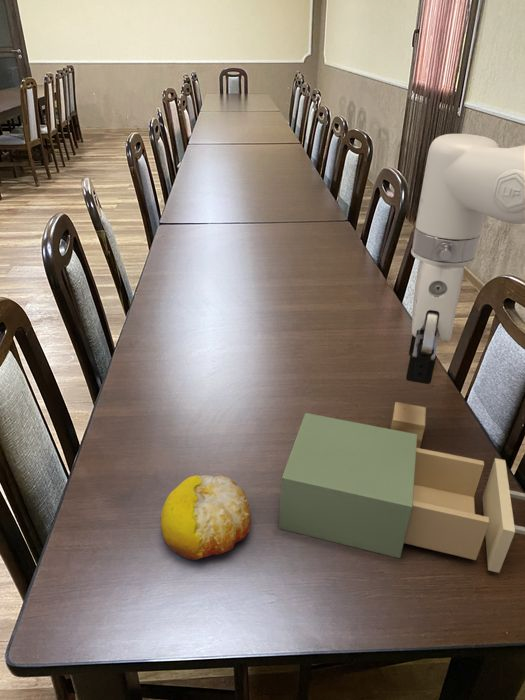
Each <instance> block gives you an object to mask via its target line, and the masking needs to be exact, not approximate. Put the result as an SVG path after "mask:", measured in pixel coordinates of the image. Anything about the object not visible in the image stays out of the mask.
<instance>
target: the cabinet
mask: <svg viewBox="0 0 525 700" xmlns="http://www.w3.org/2000/svg"><path fill="white" fill-rule="evenodd" d="M416 446H417V434H413V433H407V432H402V431H397V430H392V429H391V428H386V427H381V426H377V425H370V424H366V423H360V422H356V421H351V420H345V419H340V418H334V417H330V416H324V415H318V414H314V413H308V412H304V414H303V418H302V421H301V424H300V426H299V429H298V432H297V434H296V437H295V439H294V443H293V445H292V449H291V451H290V454H289V456H288V459H287V462H286V465H285V468H284V471H283V473H282V476H281V485H280V500H279V501H280V505H279V507H280V508H279V522H278V529H280V530H283V531H287V532H292V533H294V534H295V533H296V534H299V535H303V536H307V537H312V538H316V539H320V540H323V541H328V542H332V543H336V544H339V545H343V546H344V545H345V546H348V547H352V548H356V549H362V550H364V551H368V552H373V553H377V554H381V555H384V556H389V557H393V558H396V559H401V557H402V553H403V549H404V544H405V543H404V540H405V536H406V531H407V527H408V523H409V519H410V514H411V510H412V504H413V489H414V475H415V460H416Z"/></svg>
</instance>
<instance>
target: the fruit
mask: <svg viewBox="0 0 525 700" xmlns="http://www.w3.org/2000/svg"><path fill="white" fill-rule="evenodd" d="M249 506H250V504H249V503H248V498H247V496H246V493H245V490H244V489H242V487H240V486H239V485H238V483H236V482H235V480H234V479H232V478H230V477H228V476H226V475H223V474H218V475H216V476H213V475H208V474H203V475H198V474H197V475H191V476H189V477H187V478H185V479H184V480H183V481H182V482H180V484H179V485H177V486H176V487H175V488H174V489H173V490H172V491H170V493H169V495H168V496H167V498H166V500H165V501H164V504H163V506H162V509H161V513H160V528H161V534H162V537H163V539H164V542H165V543H166V545H168V547H169V548H170V549H171V550H172V551H173V552H175V553H176V554H178V555H180V556H182V557H184V558H185V559H188V560H189V561H195V560H199V559H202V558H207V557H210V556H220V555H222V554H225V553H226V552H230V551H231V550H232V551H233V550H234V547H235V544H236V543H239V542H240V541H243V540H245V538H246V537H247V536H248V534H249V532H250V527H251V523H252V522H251V521H252V517H251V510H250V509H249Z"/></svg>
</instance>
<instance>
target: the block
mask: <svg viewBox="0 0 525 700" xmlns="http://www.w3.org/2000/svg"><path fill="white" fill-rule="evenodd" d="M426 413H427V407H426V406H421V405H415V404H410V403H404V402H399V401H395V402H394V407H393V414H392V419H391V424H390V429H392V430H397V431H402V432H407V433H413V434H417V446H416V448H420V449H421V446H422V442H423V438H424V437H423V436H424V432H425V429H426V418H427V414H426Z"/></svg>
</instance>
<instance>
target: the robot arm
mask: <svg viewBox="0 0 525 700" xmlns="http://www.w3.org/2000/svg"><path fill="white" fill-rule="evenodd" d="M420 191H421V192H420V197H419V202H418V203H419V204H418V209H417V214H416V221H415V227H414V232H413V237H412V238H413V239H412V245H411V250H410V254H411V255H412V257H413V258H415V259H416V260H418V268H417V273H416V280H415V284H414V285H415V286H414V292H413V301H412V302H413V303H412V316H411V341H410V345H409V350H408V356H409V360H408V366H407V370H406V376H405V377H406V378H405V379H406V381H408V382H413V383H419V384H423V385H424V384H425V385H430V384H431V383H432V379H433V375H434V371H435V370H434V369H435V365H436V361H437V357H436V355H437V354H436V353H437V348H438V343H439V340H440V341H443V342H445V343H448V342H450V341H451V340H452V335H453V331H454V324H455V319H456V314H457V309H458V305H459V300H460V294H461V289H462V284H463V278H464V272H465V267H466V266H470V265H471V264H473V263H474V262H475V260H476V254H477V251H478V246H479V243H480V238H481V234H482V230H483V226H484V221H485V217H486V216H488V217H490V218H492V219H495V220H497V221H501V222H503V223H507V224H514V225H524V224H525V144H521V145H517V146H513V147H499V145H498V143H497V142H496V140H494V139H492V138H490V137H487V136H483V135H477V134H471V133H470V134H469V133H446V134H443V135H438V136H437V137H435V139H433V141H431V143H430V145H429V148H428V153H427V157H426V163H425V169H424V174H423V181H422V186H421V190H420Z"/></svg>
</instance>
